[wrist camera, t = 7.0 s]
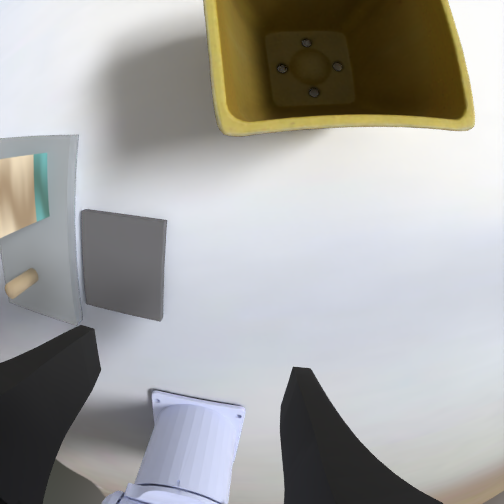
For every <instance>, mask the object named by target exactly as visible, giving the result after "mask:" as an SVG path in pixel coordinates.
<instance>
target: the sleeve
mask: <svg viewBox="0 0 504 504" xmlns="http://www.w3.org/2000/svg"><path fill="white" fill-rule="evenodd" d="M49 216H50V214H49V200H48V179H47V153H40V154H32V155H24V156H17V157H11V158H4V159H0V238H2V237H4V236H6V235H8V234H11V233H13V232H15V231H17V230H19V229H22V228H24V227H26V226H28V225H31V224H33V223H35V222H38V221H40V220H42V219H45V218H47V217H49Z"/></svg>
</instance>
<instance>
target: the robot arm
mask: <svg viewBox="0 0 504 504" xmlns="http://www.w3.org/2000/svg"><path fill="white" fill-rule="evenodd" d="M100 371H101V367H100V361H99V356H98V350H97V344H96V337H95V330H94V329H93V328H89V327H86V326H83V325H80V326H78V327H75V328H73V329H71V330H69V331H67V332H65V333H63V334H61V335H59V336H58V337H56V338H54V339H52V340H50V341H48V342H46V343H44V344H42V345H40V346H38V347H36V348H34V349H32V350H30V351H28V352H25V353H23V354H21V355H19V356H17V357H15V358H12V359H10V360H7V361H5V362H2V363H0V504H43V498H44V494H45V490H46V486H47V483H48V479H49V475H50V472H51V470H52V467H53V464H54V461H55V458H56V456H57V453H58V451H59V448H60V446H61V443H62V441H63V439H64V437H65V435H66V433H67V431H68V430H69V428H70V426H71V425H72V423H73V421H74V420H75V418H76V416H77V415H78V413H79V411H80V410H81V408H82V407H83V405H84V403H85V402H86V400H87V398H88V397H89V395H90V393H91V392H92V390H93V387H94V385H95V383H96V381H97V378H98V376H99V374H100ZM151 396H152V407H153V417H154V426H155V427H154V429H153V432H152V435H151V438H150V440H149V443H148V446H147V449H146V452H145V455H144V457H143V460H142V463H141V466H140V469H139V472H138V475H137V478H136V480H135V483H134V484H132V483H128V485H127V488H126V491H125V492H122V491H115V492H114V493H112V494H110V495H108V496H107V497H106V498H105V499H104V500H103V502H102V504H228V500H229V491H230V482H231V473H232V465H233V462H234V460H235V456H236V452H237V447H238V443H239V439H240V434H241V430H242V426H243V421H244V417H245V408H244V407H242V406H236V405H229V404H223V403H216V402H211V401H205V400H200V399H194V398H189V397H184V396H180V395H175V394H170V393H166V392H162V391H157V390H155V391H153V392H152V395H151ZM280 438H281V450H282V461H283V472H284V488H285V494H284V504H443V503H442V502H440V501H438V500H436V499H434V498H432V497H430V496H428V495H427V494H425V493H423V492H421V491H419V490H418V489H416V488H415V487H413V486H412V485H410V484H409V483H407V482H406V481H404V480H403V479H401V478H400V477H399V476H397V475H396V474H395V473H393V472H392V471H391V470H390V469H389V468H387V467H386V466H385V465H384V464H383V463H381V462H380V461H379V460H378V459H377V458H376V457H375V456H374V455H373V454H372V453H371V452H370V451H369V450H368V449H367V448H366V447H365V446H364V445H363V444H362V443H361V442H360V441H359V439H358V438H357V437H356V436H355V435H354V433H353V432H352V431H351V430H350V428H349V427H348V426H347V424H346V423H345V422H344V420H343V419H342V418H341V416H340V415H339V413H338V412H337V411H336V409H335V408H334V406H333V405H332V403H331V402H330V400H329V398H328V397H327V395H326V394H325V392H324V390H323V389H322V387H321V385H320V384H319V382H318V380H317V378H316V377H315V375H314V373H313V371H312V370H311V369H310V368H301V367H293V368H292V372H291V375H290V378H289V382H288V385H287V388H286V391H285V394H284V397H283V401H282V404H281V413H280Z"/></svg>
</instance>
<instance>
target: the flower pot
mask: <svg viewBox="0 0 504 504" xmlns="http://www.w3.org/2000/svg"><path fill="white" fill-rule="evenodd" d="M203 3H204V14H205V22H206V32H207V43H208V53H209V62H210V76H211V87H212V95H213V104H214V110H215V116H216V121H217V125H218V127H219V129H220V131H221V132H222V133H223V134H225V135H227V136H235V137H242V136H250V135H256V134H264V133H274V132H284V131H294V130H305V129H320V128H339V127H412V128H429V129H441V130H450V131H468V130H470V129H472V128H473V127H474V125H475V112H474V105H473V97H472V91H471V85H470V80H469V75H468V71H467V67H466V62H465V58H464V53H463V50H462V46H461V43H460V39H459V36H458V32H457V29H456V26H455V22H454V19H453V16H452V12H451V9H450V6H449V3H448V0H203ZM304 39H308V40H310V41H311V46H309V47H305V46H303V45H302V41H303V40H304ZM334 63H339V64H341V65H342V69H341V70H340V71H336V70H335V69H334V68H333V64H334ZM281 64H283V65H286V66H287V71H286V72H285V73H280V72H279V71H278V70H277V68H278V66H279V65H281ZM312 88H316V89H317V90H318V91H319V95H318V96H317V97H312V96H311V95H310V94H309V91H310V89H312Z"/></svg>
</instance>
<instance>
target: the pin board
mask: <svg viewBox="0 0 504 504" xmlns="http://www.w3.org/2000/svg"><path fill="white" fill-rule="evenodd" d="M78 137H79V135H50V136H28V137H12V138H0V159H4V158H11V157H17V156H24V155H32V154H40V153H47V179H48V200H49V214H50V216H49V217H47V218H45V219H42V220H40V221H38V222H35V223H33V224H31V225H28V226H26V227H24V228H22V229H19V230H17V231H15V232H13V233H11V234H8V235H6V236H4V237H2V238H0V250H1V258H2V265H3V271H4V277H5V283H6V285H5V291H6V293H7V295H8V298H9V302H10V303H12V304H15V305H18V306H20V307H23V308H26V309H28V310H31V311H34V312H37V313H40V314H42V315H45V316H48V317H51V318H54V319H57V320H60V321H63V322H67V323H70V324H73V325H76V326H77V325H78V324H79V323H80V322H81V321H82V320H83V318H82V311H81V303H80V294H79V285H78V273H77V260H76V240H75V181H76V162H77V148H78Z"/></svg>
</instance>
